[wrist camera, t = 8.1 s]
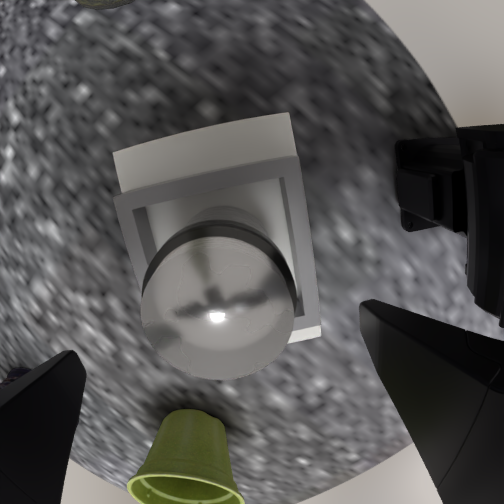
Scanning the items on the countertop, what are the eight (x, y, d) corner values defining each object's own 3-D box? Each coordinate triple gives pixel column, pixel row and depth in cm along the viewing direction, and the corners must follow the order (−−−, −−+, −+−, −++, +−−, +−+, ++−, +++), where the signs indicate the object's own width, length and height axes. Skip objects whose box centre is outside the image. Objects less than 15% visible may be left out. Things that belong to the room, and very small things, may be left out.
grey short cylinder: (267, 189, 15) (290, 220, 9) (284, 289, 17) (310, 371, 11) (160, 212, 16) (109, 257, 9) (187, 307, 17) (163, 392, 11)
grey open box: (278, 119, 18) (296, 106, 12) (308, 305, 22) (329, 355, 17) (135, 151, 18) (96, 153, 12) (184, 328, 22) (171, 381, 17)
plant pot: (164, 453, 28) (153, 518, 19) (131, 396, 25) (106, 470, 16) (248, 449, 28) (253, 518, 19) (231, 390, 25) (230, 474, 16)
